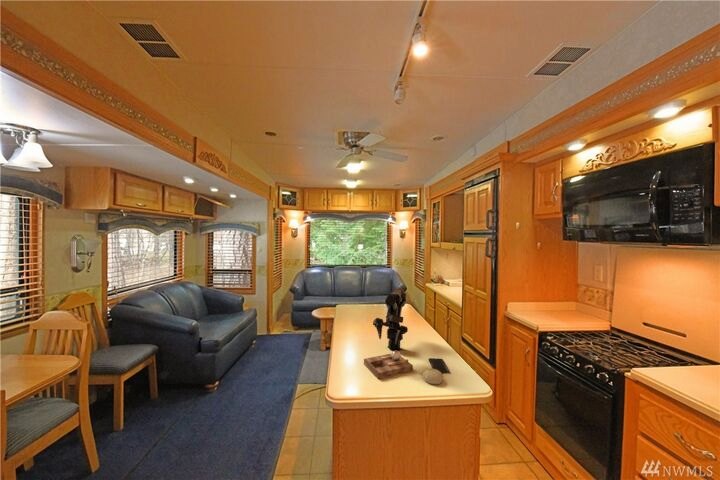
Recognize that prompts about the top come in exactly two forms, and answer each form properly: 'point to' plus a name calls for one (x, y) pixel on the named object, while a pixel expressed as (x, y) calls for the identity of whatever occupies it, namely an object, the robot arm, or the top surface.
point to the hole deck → (387, 366)
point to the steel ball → (396, 355)
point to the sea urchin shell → (433, 376)
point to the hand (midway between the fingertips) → (388, 341)
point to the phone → (439, 365)
